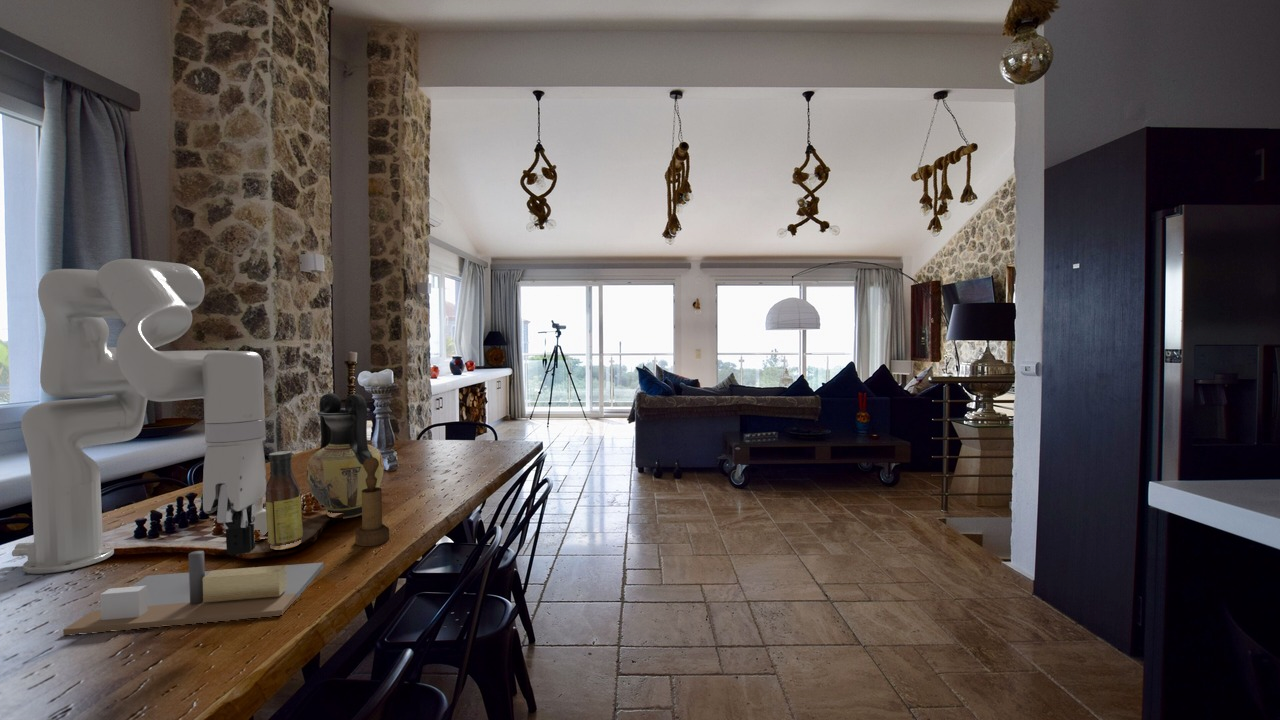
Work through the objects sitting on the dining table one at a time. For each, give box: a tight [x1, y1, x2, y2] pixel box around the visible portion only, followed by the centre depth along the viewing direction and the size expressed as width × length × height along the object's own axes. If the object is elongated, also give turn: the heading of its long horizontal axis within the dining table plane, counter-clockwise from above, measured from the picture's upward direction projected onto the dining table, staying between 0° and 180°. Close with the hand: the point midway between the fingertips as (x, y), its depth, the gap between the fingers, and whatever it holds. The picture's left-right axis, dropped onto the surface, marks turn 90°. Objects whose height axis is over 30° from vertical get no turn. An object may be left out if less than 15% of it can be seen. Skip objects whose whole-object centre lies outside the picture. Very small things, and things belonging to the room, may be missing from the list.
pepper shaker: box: [250, 496, 267, 535], centre depth 124 cm, size 4×4×10 cm
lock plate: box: [62, 550, 325, 635], centre depth 97 cm, size 29×20×9 cm
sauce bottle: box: [265, 450, 304, 546], centre depth 120 cm, size 7×6×20 cm
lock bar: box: [203, 564, 287, 603], centre depth 95 cm, size 11×3×4 cm, turn 102°
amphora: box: [306, 392, 385, 519], centre depth 142 cm, size 18×17×30 cm
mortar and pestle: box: [354, 457, 390, 547], centre depth 123 cm, size 7×6×18 cm
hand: (241, 551), depth 88 cm, fingers closed
